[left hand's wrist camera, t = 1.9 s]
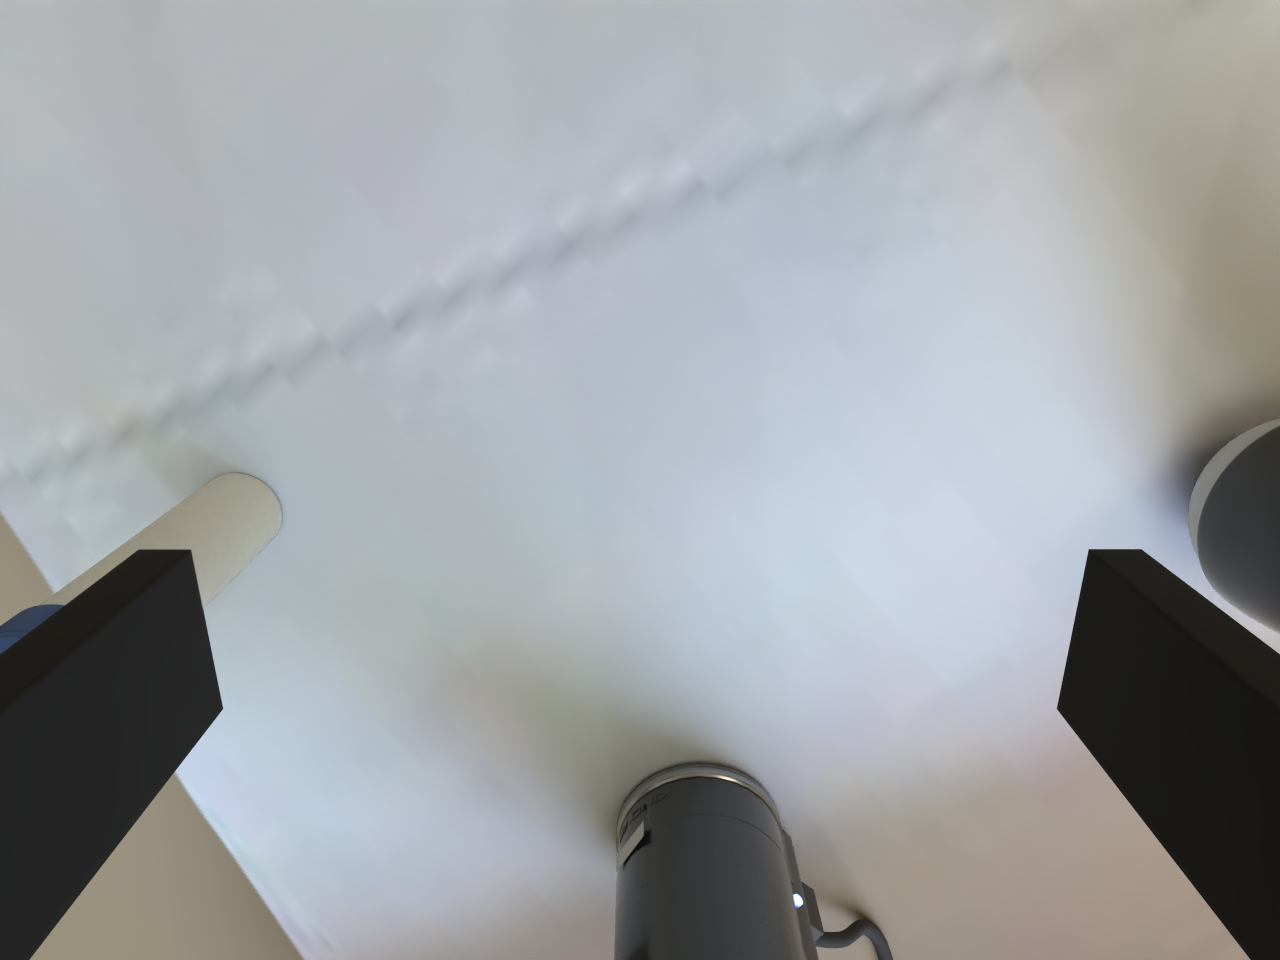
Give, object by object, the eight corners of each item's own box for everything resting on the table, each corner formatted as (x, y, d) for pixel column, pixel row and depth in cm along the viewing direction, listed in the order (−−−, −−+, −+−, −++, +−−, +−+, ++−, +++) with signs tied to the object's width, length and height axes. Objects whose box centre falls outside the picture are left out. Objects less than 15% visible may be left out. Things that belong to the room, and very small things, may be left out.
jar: (194, 471, 41) (-45, 633, 27) (277, 473, 42) (83, 635, 27) (207, 546, 43) (-14, 739, 28) (287, 548, 43) (108, 741, 28)
